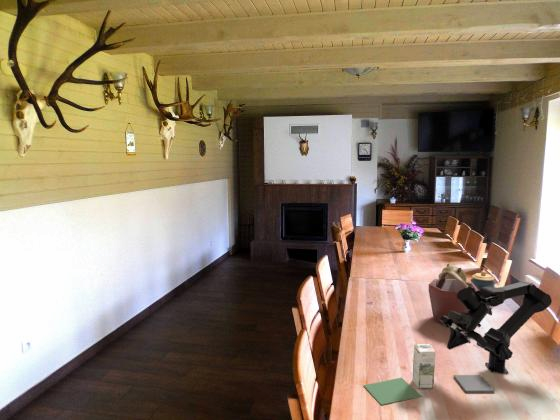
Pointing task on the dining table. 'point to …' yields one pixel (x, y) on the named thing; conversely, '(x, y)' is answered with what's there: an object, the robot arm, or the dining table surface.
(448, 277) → the frog figurine
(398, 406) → the dining table surface
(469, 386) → the slate coaster
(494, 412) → the dining table surface
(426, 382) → the syrup box
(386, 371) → the dining table surface
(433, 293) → the bucket
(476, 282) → the canister
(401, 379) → the felt mat
